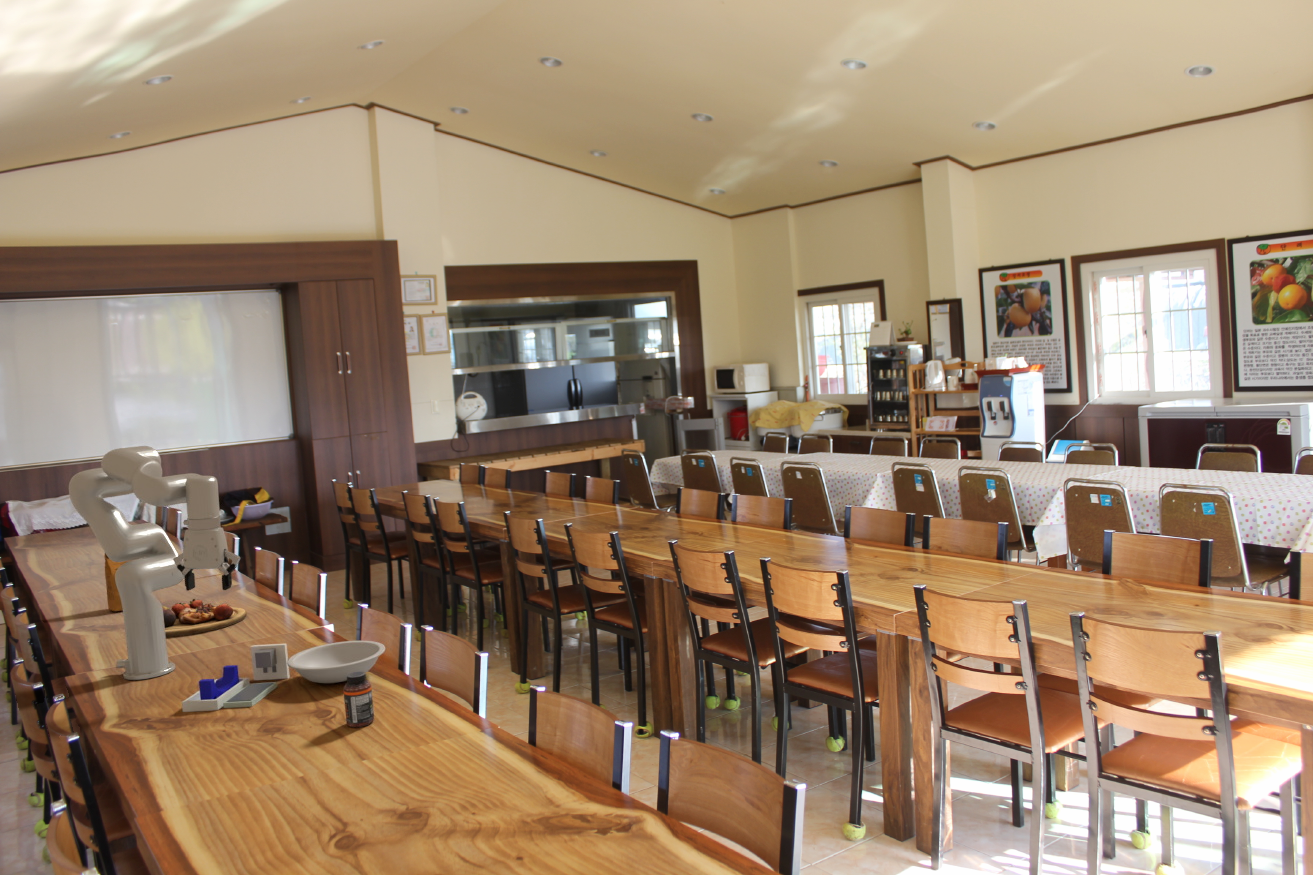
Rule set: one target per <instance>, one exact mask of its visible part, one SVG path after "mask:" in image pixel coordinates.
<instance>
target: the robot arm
mask: <svg viewBox="0 0 1313 875" xmlns="http://www.w3.org/2000/svg"><path fill="white" fill-rule="evenodd" d="M100 465H101V467H96V468H92V469H91V468H90V469H86V470H82V471H80V472H77V473H76V474H74V475H73V476H72V477H71V479H70V480H69V484H68V493H69V498H70V501H71V503H72V506H73V508H74V509H75V511H76V512H77V513H78V514H79V515H80V516H81V518H83V520H84V521H85V522H86V523H87V524H88V526H89V528H90V529H91V531H92V532H93V534H94V535H95V538H96V539H97V541H98V543H99V545H100V547H101V548H102V550H103V552H104V554H105V553H106V555H107V556H108V557H109V559H110V560H112V561H114V562H125V561H129V562H127V563H124V564H123V565H121V566H120V567H119V568H118V569H117V571H116V574H115V582H116V585H117V588H118V591H119V595H120V598H121V602H122V608H123V611H122V613H123V614H122V615H123V622H124V630H125V639H126V640H125V641H126V649H127V650H126V651H127V659H126V658H123V659H119V658H118V659H117V660H116V663H115V664H116V665H115V668H116V669H124V670H125V671H124V672H123V674H122V675H123V679H125V680H130V681H132V680H133V681H136V680H137V681H138V680H146V679H153V678H156V677H160V676H163V675H167V674H169V673H171V672H172V671H174V670H175V669H176V664H175V663H174V662H172V661H169V655H168V646H167V639H166V638H167V637H166V636H165V626H164V616H163V608H162V606H163V605H162V603H161V601H160V600H159V599H158V598H157V597H156V596H155V595H154V592H156V591H159V590H163V589H168V588H171V587H174V586H178V585H179V584H180V583H182V581H183V580H184V586H185V590H186V591H187V592H188V591H191V590H193V589H195V588H196V578H195V572H193V571H194V570H216V569H219V571H220V572H221V573H222V575H221V588H222V590H223V591H227V590H229V589H231V588H232V585H233V580H232V573H233V572H234V571H235V570H236V568H238V565H239V563H240V560H241V557H240V555H238V554H235V553H234V552H231V551H229V547H228V542H227V536H226V533H225V531H224V527H221V513H220V511H221V510H220V501H219V500H220V498H219V496H220V495H219V485H218V479H217V477H215V476H212V475H201V474H199V473H194V472H191V473H190V472H189V473H183V474H181V473H180V474H174V475H168V476H167V475H166V476H163V468H162V458H161V456H160V453H159V452H158V451H157V450H156V449H155V448H153V447H152V446H148V445H138V446H130V447H121V448H114V449H112V450H110V451H107V453H105V454H104V456H103V457H102V459H101V461H100ZM131 494H134V495H135V497H136V498H137V500H139V501H141V502H142V503H145V504H148V505H150V506H155V507H169V506H170V507H171V506H175V505H179V504H186V514H187V518H186V519H184V520H183V526H187V529H186V530H185V532H184V536H183V544H182V552H181V553H180V554H179V552H178V551H177V548H175V546H174V544H173V543H172V540H171V539H170V538H169V536H168V534H167V533H166V531H165V530H164V529H163V528H162V527H161V526H160V525H158V524H157V523H153V522H145V523H138V524H131V523H129V522H128V520H127V519H126V517H125V515H124V513H123V512H122V511H121V510H120V509H119V508H118V507H117V506H115V505H114V504H112V503H110V502H108V501H106V500H105V499H107V498H113V497H120V496H127V495H131ZM135 559H136V560H135ZM130 560H132V561H130ZM229 560H231V563H230V564H229Z"/></svg>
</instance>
